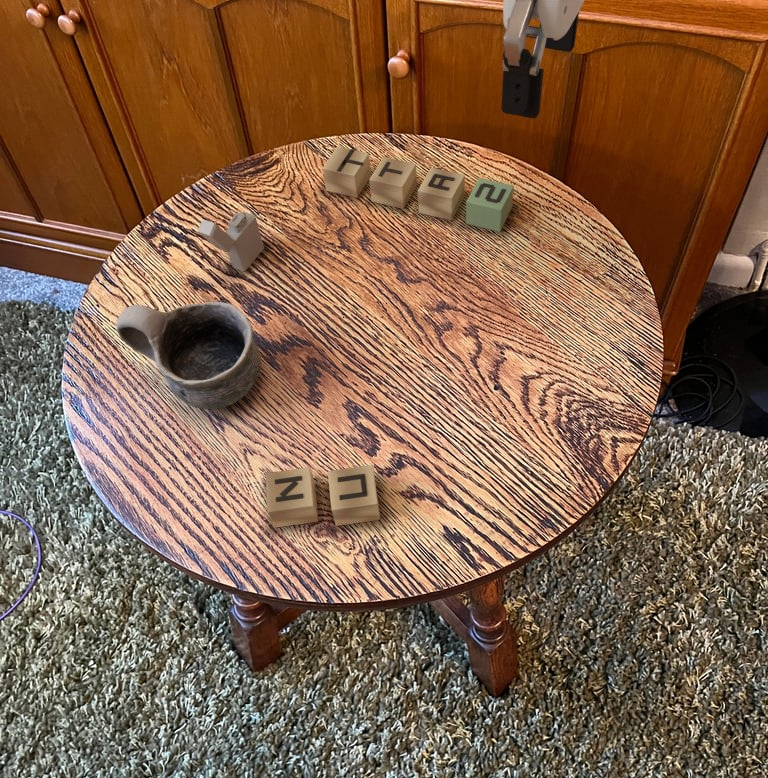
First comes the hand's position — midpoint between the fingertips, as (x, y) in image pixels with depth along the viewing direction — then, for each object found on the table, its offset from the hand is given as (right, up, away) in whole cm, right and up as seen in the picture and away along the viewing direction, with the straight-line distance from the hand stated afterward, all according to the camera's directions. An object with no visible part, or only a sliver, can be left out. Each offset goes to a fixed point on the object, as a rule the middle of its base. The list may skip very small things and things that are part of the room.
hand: (538, 80), depth 67 cm
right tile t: (-12, -1, +21) cm, 24 cm away
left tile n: (-22, -37, +3) cm, 43 cm away
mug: (-31, -25, +10) cm, 41 cm away
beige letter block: (-18, +1, +22) cm, 28 cm away
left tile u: (-16, -37, +2) cm, 40 cm away
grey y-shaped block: (-29, -11, +18) cm, 36 cm away
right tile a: (-7, -3, +19) cm, 21 cm away
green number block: (-2, -5, +18) cm, 19 cm away
